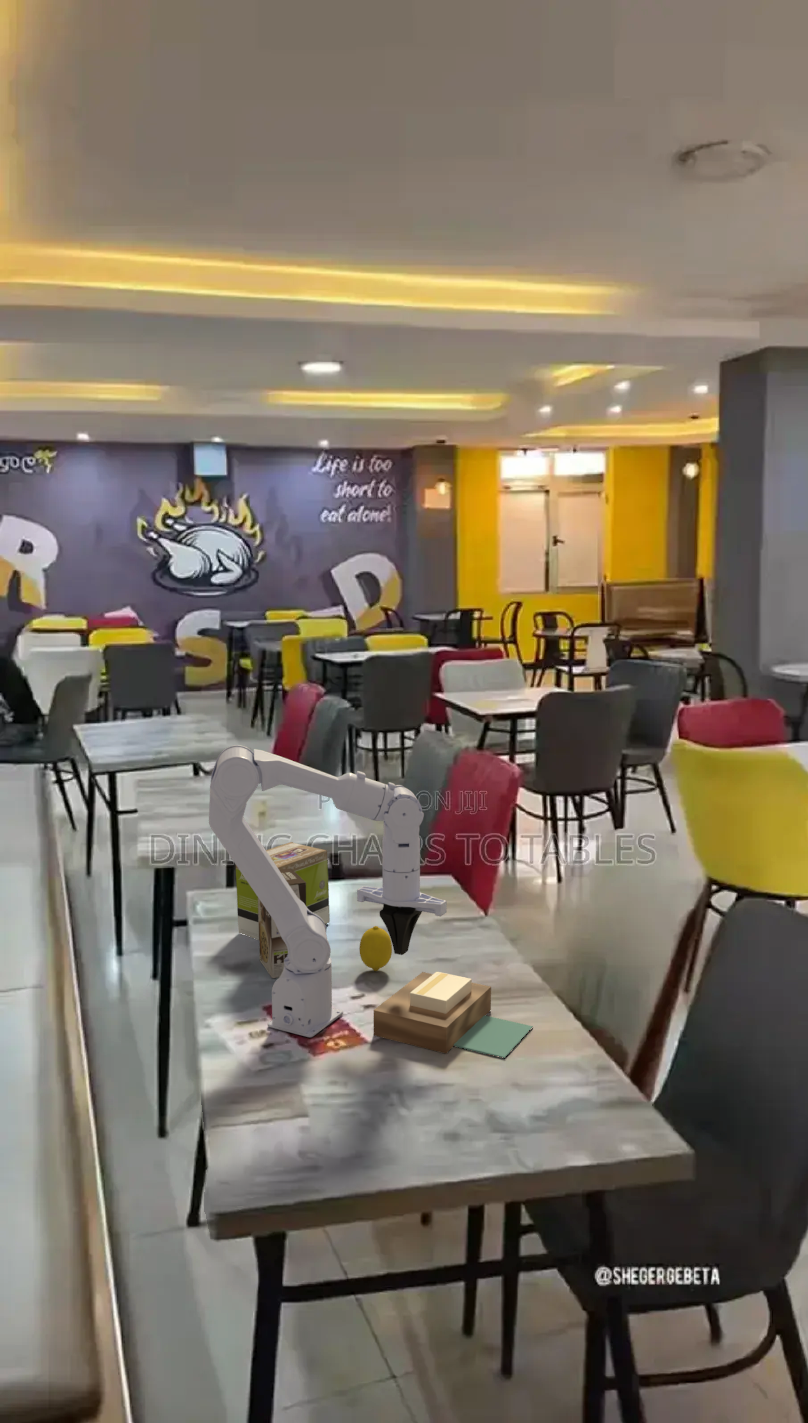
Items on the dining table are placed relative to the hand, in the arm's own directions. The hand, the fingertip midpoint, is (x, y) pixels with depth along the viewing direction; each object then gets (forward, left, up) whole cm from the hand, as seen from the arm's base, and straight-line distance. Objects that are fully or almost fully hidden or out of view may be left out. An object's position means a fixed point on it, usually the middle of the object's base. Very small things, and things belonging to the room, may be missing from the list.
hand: (401, 952), depth 166 cm
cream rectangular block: (0, -7, -6) cm, 9 cm away
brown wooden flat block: (-1, -6, -10) cm, 12 cm away
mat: (-1, -16, -10) cm, 19 cm away
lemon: (+12, +12, -10) cm, 20 cm away
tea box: (+21, +37, -10) cm, 44 cm away
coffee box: (+6, +27, -10) cm, 29 cm away
